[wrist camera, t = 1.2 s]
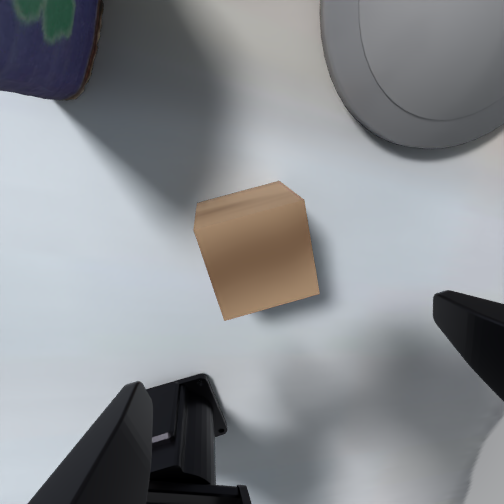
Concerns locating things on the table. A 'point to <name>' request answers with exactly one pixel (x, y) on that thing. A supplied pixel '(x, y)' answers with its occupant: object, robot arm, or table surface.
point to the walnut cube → (256, 249)
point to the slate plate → (418, 67)
